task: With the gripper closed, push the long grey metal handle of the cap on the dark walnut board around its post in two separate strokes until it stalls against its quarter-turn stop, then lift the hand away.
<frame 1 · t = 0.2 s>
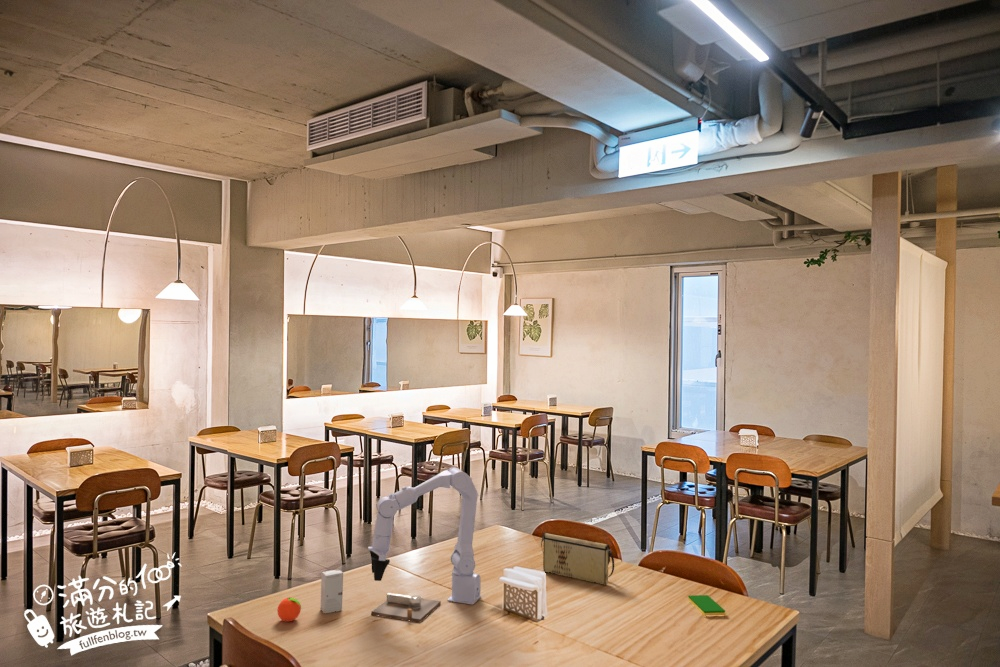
hand: (376, 576, 217), 10 cm above the table, tool pointing down, fingers open, 7 cm apart
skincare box: (331, 610, 215), on the table
dish sponge: (706, 610, 221), on the table
clementine: (290, 621, 206), on the table
base board: (406, 609, 217), on the table
clutch purse: (576, 577, 251), on the table
cap handle: (403, 599, 218), point 3 cm above the table, hinge at 0.0°
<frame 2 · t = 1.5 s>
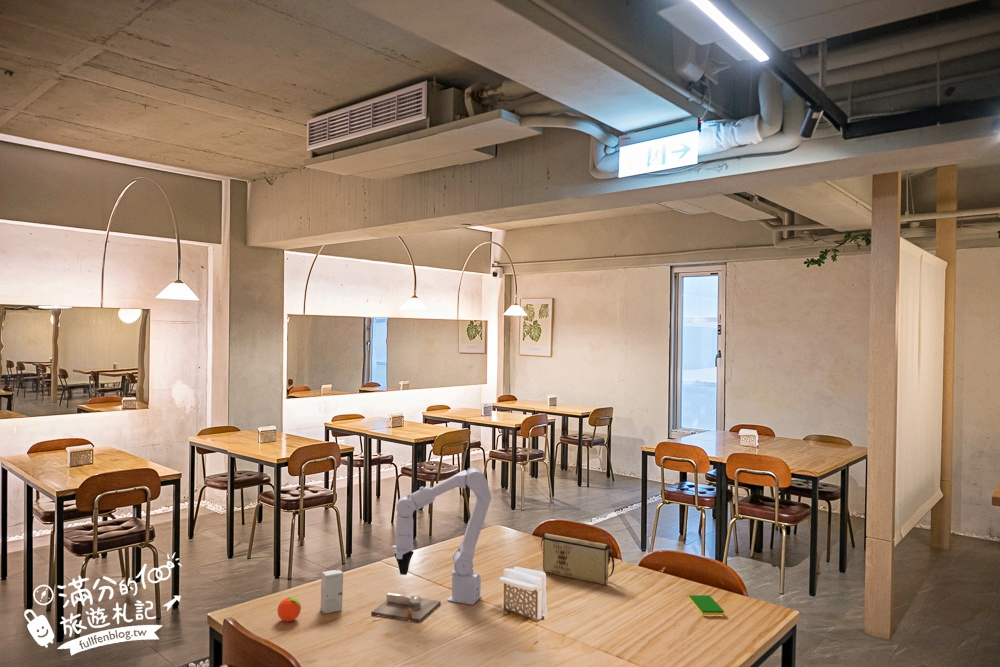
hand: (403, 574, 224), 9 cm above the table, tool pointing down, fingers closed
nothing on the table moved.
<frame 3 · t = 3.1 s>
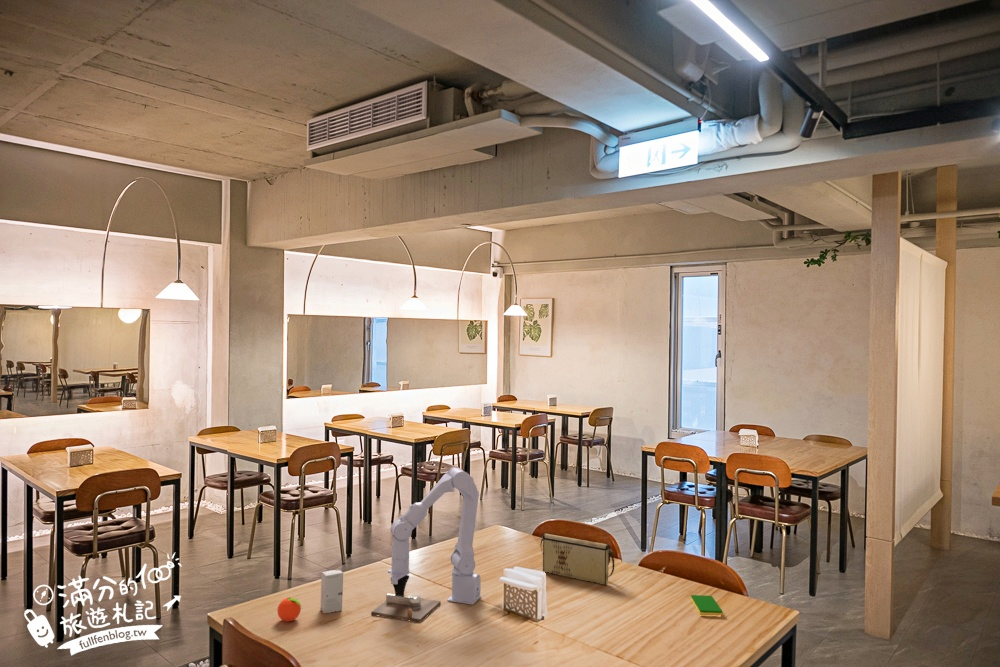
hand: (399, 598, 220), 2 cm above the table, tool pointing down, fingers closed, pressing on cap handle
cap handle: (403, 599, 218), point 3 cm above the table, hinge at 2.8°, touching gripper
everything else where it was.
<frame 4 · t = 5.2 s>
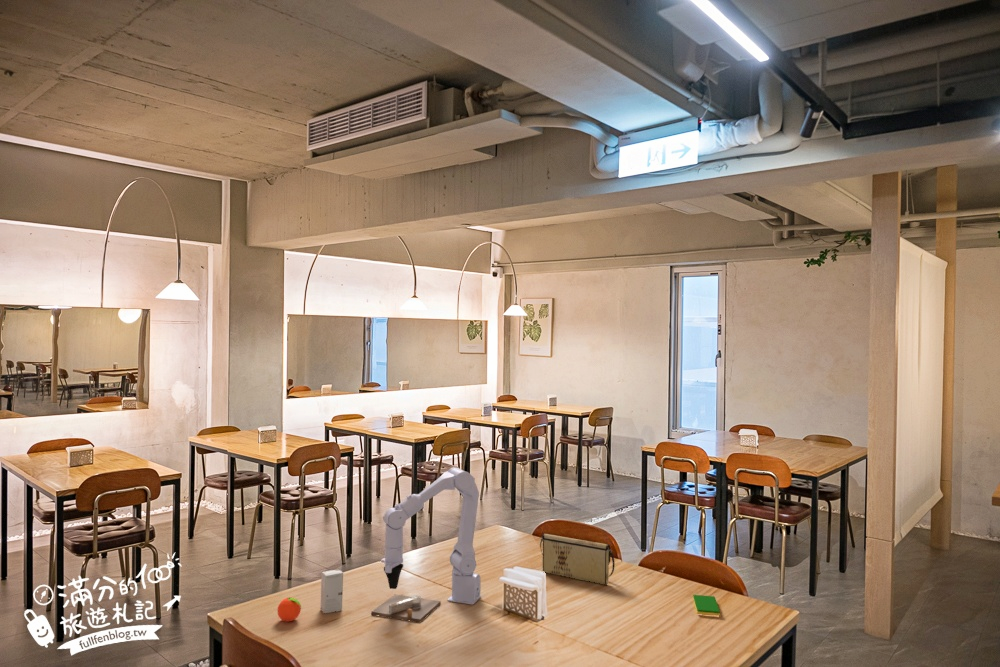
hand: (393, 588, 217), 7 cm above the table, tool pointing down, fingers closed
cap handle: (405, 604, 214), point 3 cm above the table, hinge at 64.6°
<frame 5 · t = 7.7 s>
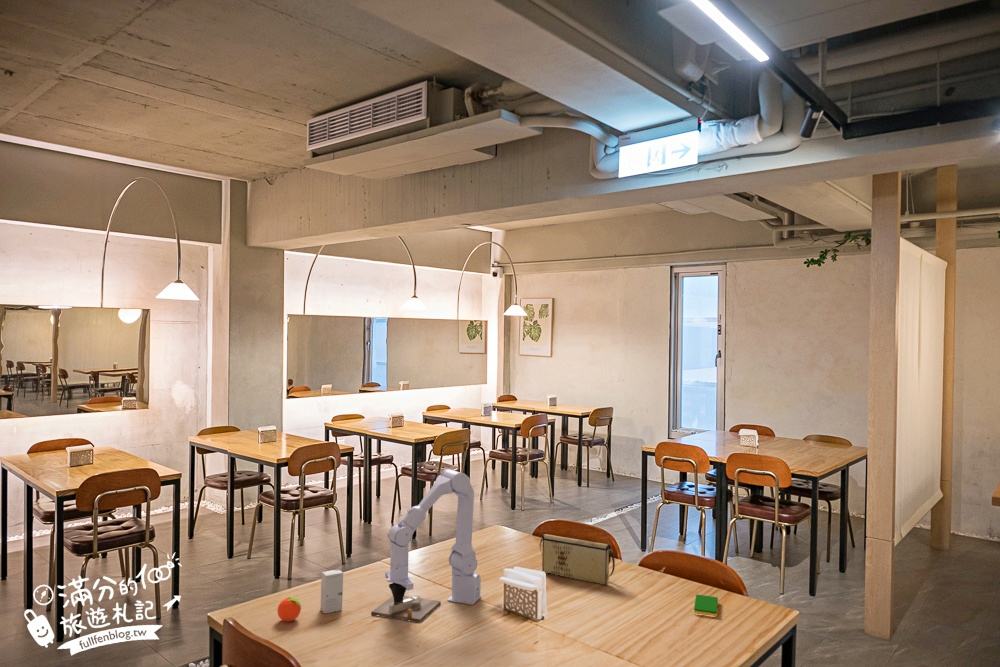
hand: (398, 606, 214), 2 cm above the table, tool pointing down, fingers closed, pressing on cap handle
cap handle: (405, 604, 214), point 3 cm above the table, hinge at 64.6°, touching gripper
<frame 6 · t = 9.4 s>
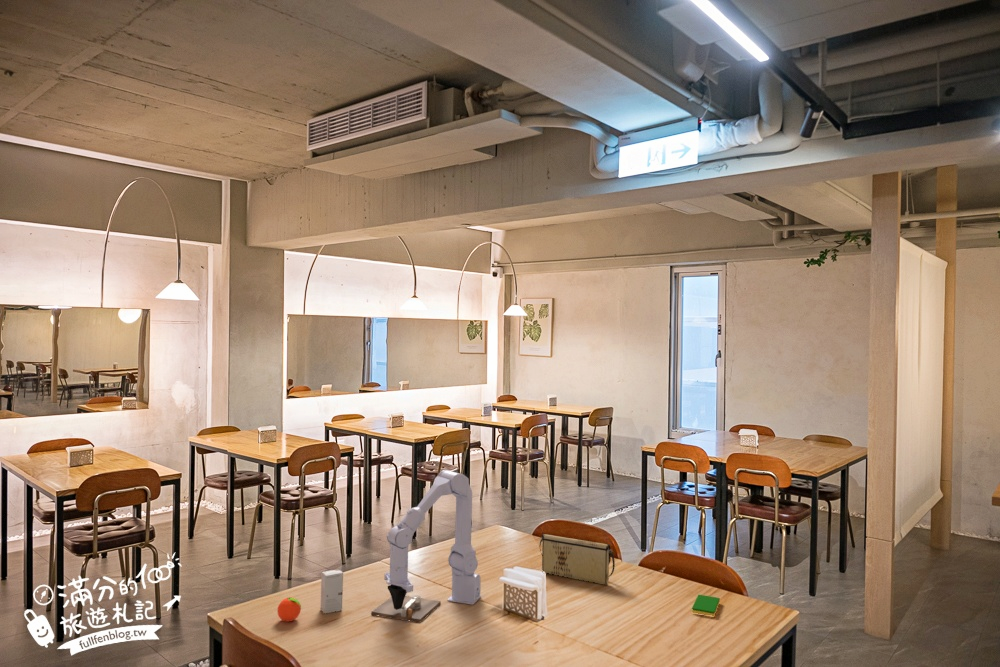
hand: (397, 608, 212), 2 cm above the table, tool pointing down, fingers closed
cap handle: (410, 605, 213), point 3 cm above the table, hinge at 94.9°
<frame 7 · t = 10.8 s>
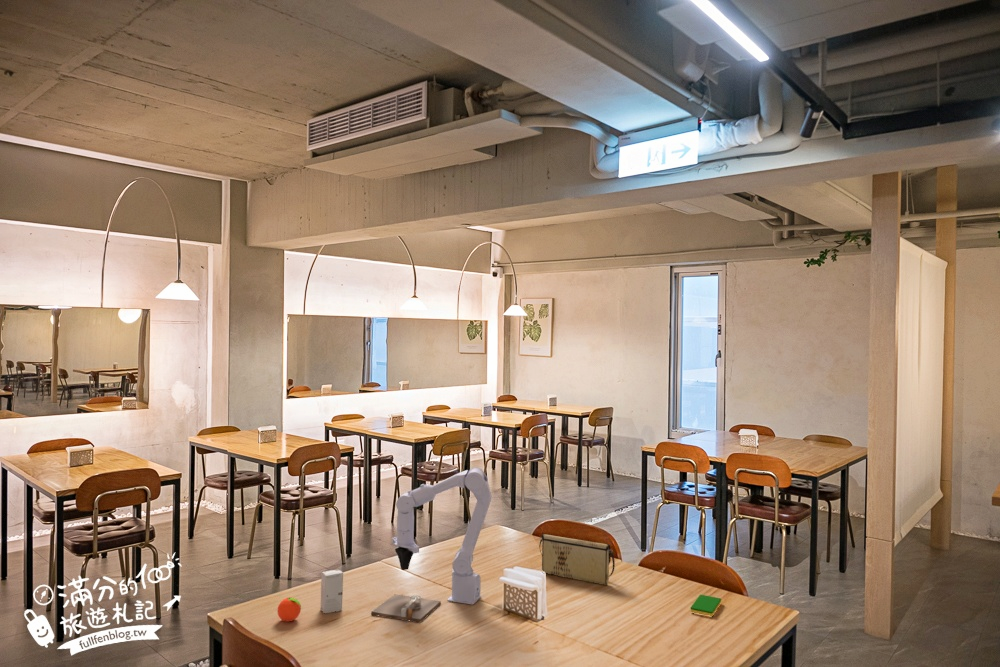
hand: (404, 569, 228), 9 cm above the table, tool pointing down, fingers closed
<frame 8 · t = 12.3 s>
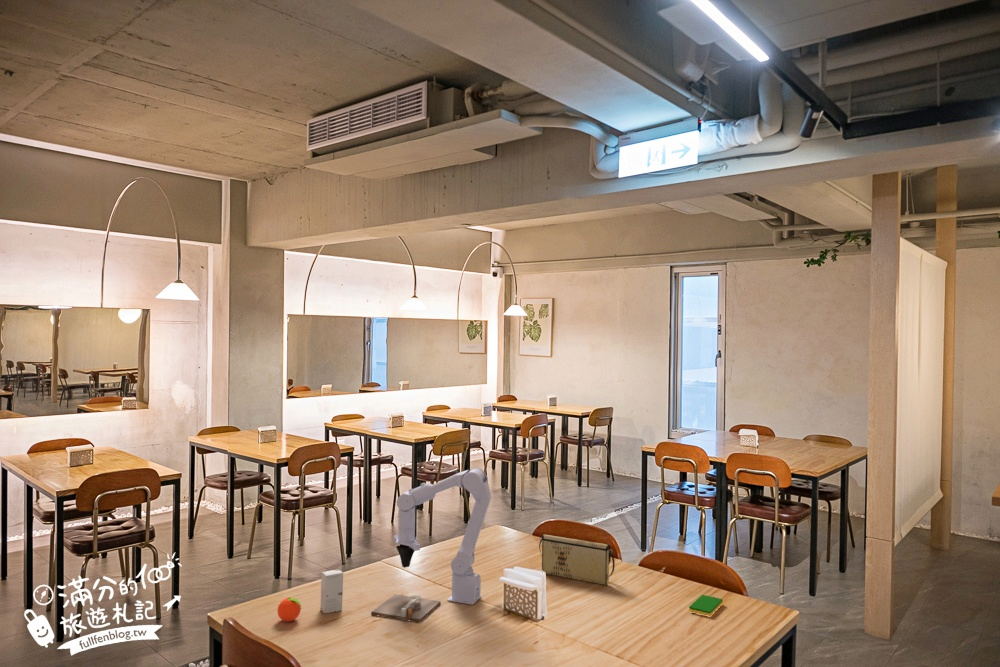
hand: (405, 566, 230), 9 cm above the table, tool pointing down, fingers closed
at the end: cap handle at +95° (first picture: +0°); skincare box moved 0.2 cm from its start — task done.
